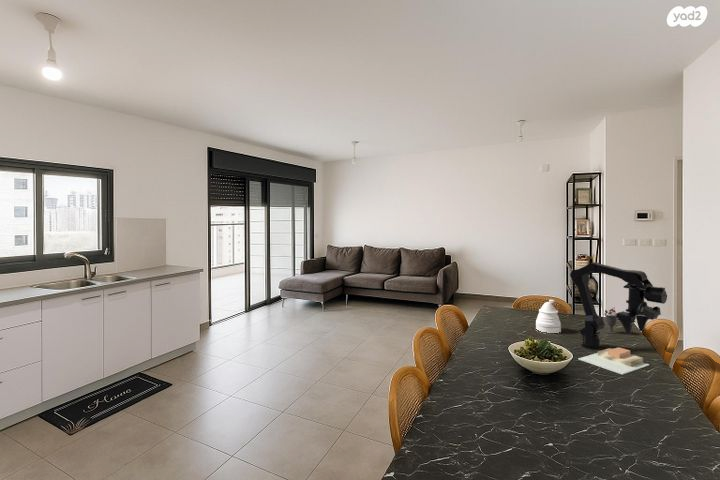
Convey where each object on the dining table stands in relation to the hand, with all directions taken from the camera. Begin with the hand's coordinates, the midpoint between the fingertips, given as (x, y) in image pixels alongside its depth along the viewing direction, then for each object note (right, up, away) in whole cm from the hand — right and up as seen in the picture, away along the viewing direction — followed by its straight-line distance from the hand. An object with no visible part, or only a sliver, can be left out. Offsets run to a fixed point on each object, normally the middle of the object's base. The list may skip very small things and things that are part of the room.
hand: (634, 332), depth 164 cm
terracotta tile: (-8, -10, -1) cm, 13 cm away
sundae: (+15, -10, +37) cm, 41 cm away
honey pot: (-16, -11, +45) cm, 49 cm away
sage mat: (-12, -13, -3) cm, 18 cm away
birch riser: (-7, -12, -1) cm, 14 cm away
